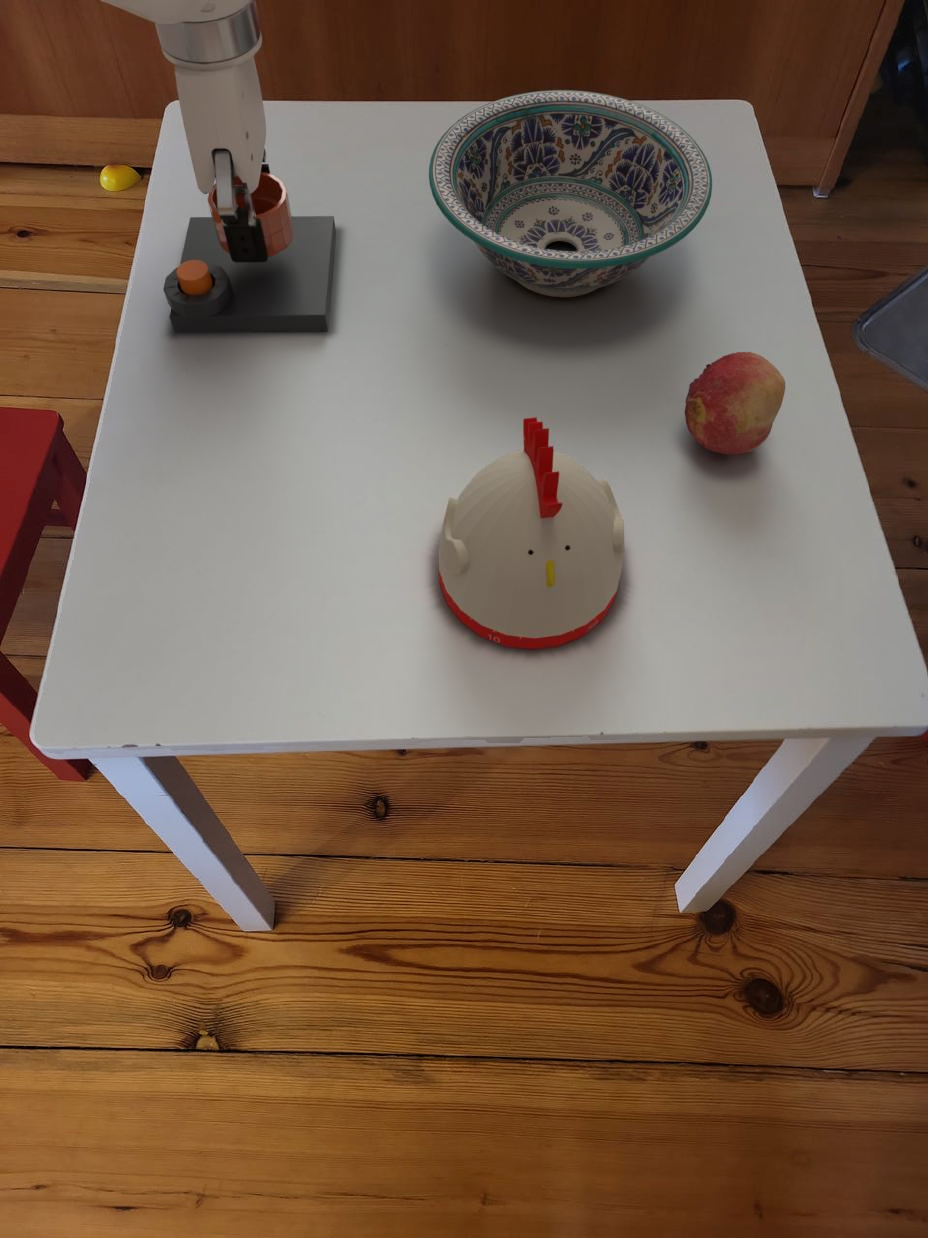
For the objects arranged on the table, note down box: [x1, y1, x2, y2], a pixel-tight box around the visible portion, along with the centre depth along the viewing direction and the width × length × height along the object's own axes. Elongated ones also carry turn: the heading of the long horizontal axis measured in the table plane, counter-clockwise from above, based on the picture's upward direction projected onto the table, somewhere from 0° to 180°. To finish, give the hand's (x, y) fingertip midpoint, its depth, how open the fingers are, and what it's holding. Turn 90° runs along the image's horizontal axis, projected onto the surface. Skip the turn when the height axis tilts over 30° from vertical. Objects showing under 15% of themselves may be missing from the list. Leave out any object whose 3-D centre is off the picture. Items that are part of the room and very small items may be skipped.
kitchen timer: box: [438, 416, 625, 650], centre depth 64 cm, size 14×14×15 cm
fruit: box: [684, 351, 786, 456], centre depth 73 cm, size 8×8×8 cm
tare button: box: [176, 260, 213, 296], centre depth 81 cm, size 3×3×2 cm
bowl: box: [428, 89, 713, 298], centre depth 84 cm, size 25×25×10 cm
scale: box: [163, 215, 337, 334], centre depth 85 cm, size 14×14×4 cm
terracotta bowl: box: [207, 172, 294, 258], centre depth 82 cm, size 7×7×5 cm
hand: (254, 230), depth 83 cm, fingers closed on terracotta bowl, 6 cm apart
